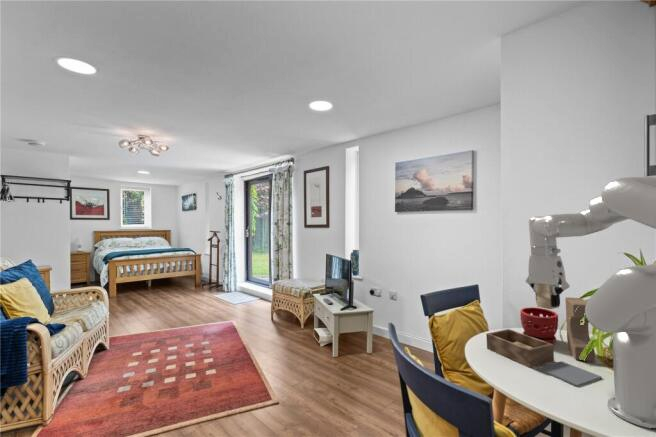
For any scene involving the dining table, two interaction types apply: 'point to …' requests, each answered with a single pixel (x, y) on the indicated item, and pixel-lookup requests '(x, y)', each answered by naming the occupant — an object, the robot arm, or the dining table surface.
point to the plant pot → (539, 323)
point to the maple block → (544, 296)
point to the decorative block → (577, 328)
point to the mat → (569, 373)
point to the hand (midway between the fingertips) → (547, 304)
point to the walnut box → (520, 347)
